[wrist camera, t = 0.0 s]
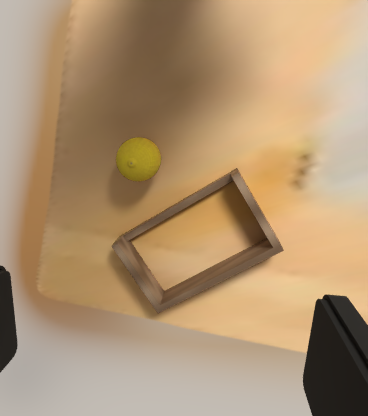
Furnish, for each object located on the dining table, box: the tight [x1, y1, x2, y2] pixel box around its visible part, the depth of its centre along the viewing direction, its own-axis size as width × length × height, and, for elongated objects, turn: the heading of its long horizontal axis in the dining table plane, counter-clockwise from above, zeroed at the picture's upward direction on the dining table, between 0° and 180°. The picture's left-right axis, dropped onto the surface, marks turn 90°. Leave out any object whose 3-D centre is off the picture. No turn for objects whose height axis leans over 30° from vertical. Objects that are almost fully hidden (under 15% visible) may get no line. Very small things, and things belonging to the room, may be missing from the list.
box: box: [112, 169, 284, 313], centre depth 47 cm, size 12×20×4 cm, turn 122°
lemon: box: [116, 137, 161, 181], centre depth 43 cm, size 6×6×8 cm
